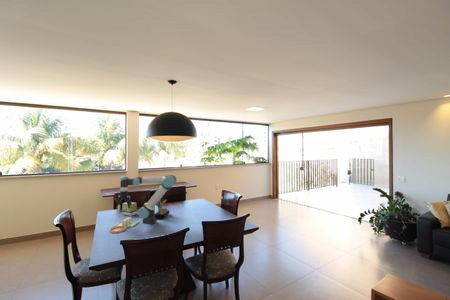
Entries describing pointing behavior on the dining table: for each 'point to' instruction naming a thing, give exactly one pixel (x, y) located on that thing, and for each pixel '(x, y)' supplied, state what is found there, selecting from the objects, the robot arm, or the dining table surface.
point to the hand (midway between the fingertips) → (123, 211)
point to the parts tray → (128, 224)
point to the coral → (161, 210)
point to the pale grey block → (124, 222)
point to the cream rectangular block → (128, 220)
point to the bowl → (117, 229)
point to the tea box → (131, 210)
